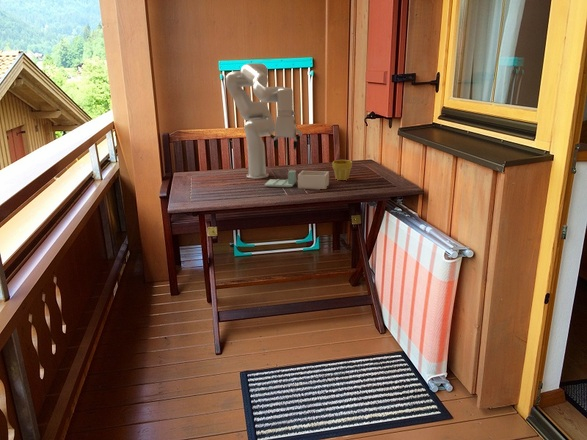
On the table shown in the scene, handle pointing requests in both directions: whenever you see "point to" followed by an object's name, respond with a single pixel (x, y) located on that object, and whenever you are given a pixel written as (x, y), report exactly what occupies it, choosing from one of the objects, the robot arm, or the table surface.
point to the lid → (283, 181)
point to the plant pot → (342, 169)
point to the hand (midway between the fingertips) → (285, 148)
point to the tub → (313, 179)
